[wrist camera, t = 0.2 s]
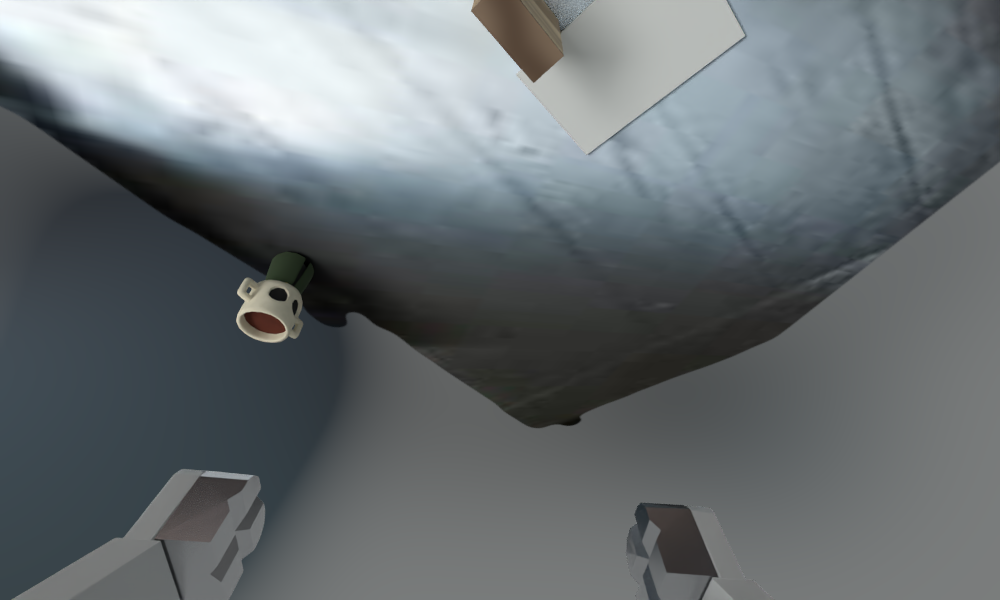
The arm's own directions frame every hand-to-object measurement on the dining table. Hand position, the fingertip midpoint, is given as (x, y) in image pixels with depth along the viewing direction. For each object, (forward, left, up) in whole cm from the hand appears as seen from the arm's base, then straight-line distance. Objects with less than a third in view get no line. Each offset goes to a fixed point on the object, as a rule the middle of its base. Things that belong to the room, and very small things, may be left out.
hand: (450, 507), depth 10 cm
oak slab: (+1, +3, -51) cm, 52 cm away
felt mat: (-4, +14, -51) cm, 53 cm away
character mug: (+51, +6, -52) cm, 73 cm away
